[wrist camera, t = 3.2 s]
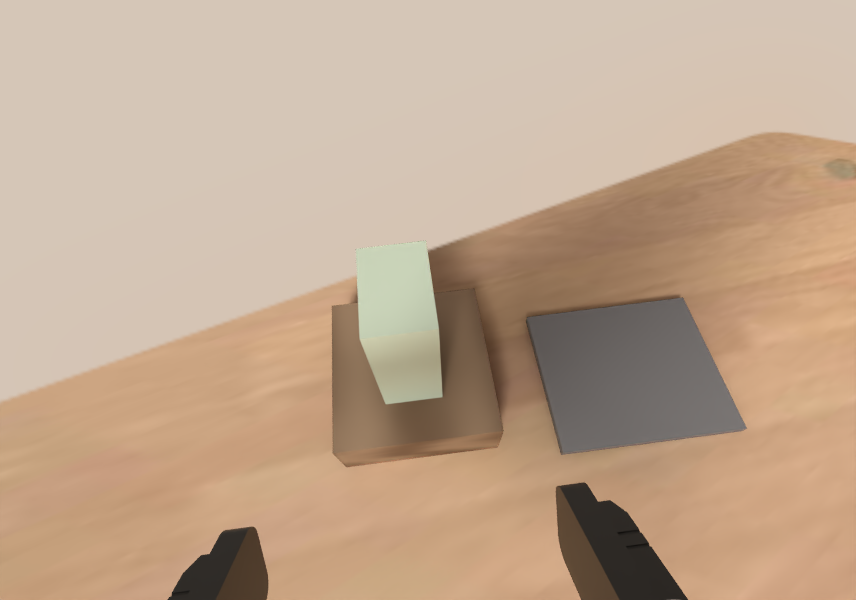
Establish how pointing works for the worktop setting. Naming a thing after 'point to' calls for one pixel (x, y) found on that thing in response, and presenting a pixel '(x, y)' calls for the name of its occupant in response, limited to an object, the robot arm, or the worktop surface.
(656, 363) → the mat
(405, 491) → the worktop surface
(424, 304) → the pale green rectangular block
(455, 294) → the brown rectangular box
